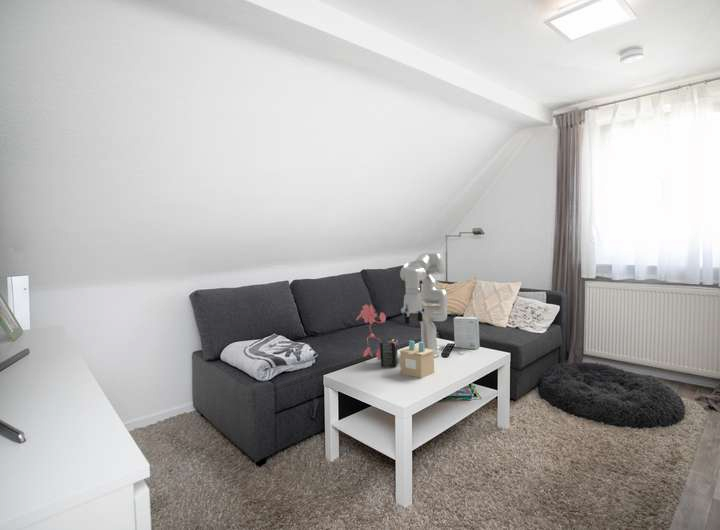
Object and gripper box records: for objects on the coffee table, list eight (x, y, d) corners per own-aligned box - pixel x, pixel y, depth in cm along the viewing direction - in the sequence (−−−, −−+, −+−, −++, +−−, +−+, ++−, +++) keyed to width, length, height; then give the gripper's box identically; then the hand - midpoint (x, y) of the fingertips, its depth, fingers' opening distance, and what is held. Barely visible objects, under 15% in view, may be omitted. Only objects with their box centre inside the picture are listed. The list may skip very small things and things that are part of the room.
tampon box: (396, 367, 239) (395, 343, 238) (380, 367, 241) (379, 342, 240) (398, 362, 250) (397, 338, 249) (383, 362, 251) (382, 338, 251)
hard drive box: (479, 346, 278) (479, 317, 277) (477, 349, 271) (476, 319, 270) (457, 344, 285) (456, 316, 284) (453, 347, 279) (453, 318, 278)
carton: (412, 367, 238) (411, 337, 237) (434, 372, 228) (433, 341, 227) (399, 372, 229) (398, 342, 228) (421, 378, 219) (420, 346, 218)
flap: (425, 349, 230) (425, 339, 230) (434, 351, 226) (434, 341, 226) (413, 353, 222) (413, 344, 222) (422, 355, 218) (422, 345, 218)
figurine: (363, 353, 272) (360, 301, 270) (393, 360, 254) (390, 304, 252) (346, 359, 261) (343, 304, 259) (377, 366, 243) (373, 308, 241)
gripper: (419, 289, 232) (420, 319, 233) (396, 292, 222) (397, 324, 223) (428, 290, 226) (429, 321, 227) (405, 293, 216) (406, 325, 217)
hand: (413, 322), depth 225 cm, fingers open, 9 cm apart
